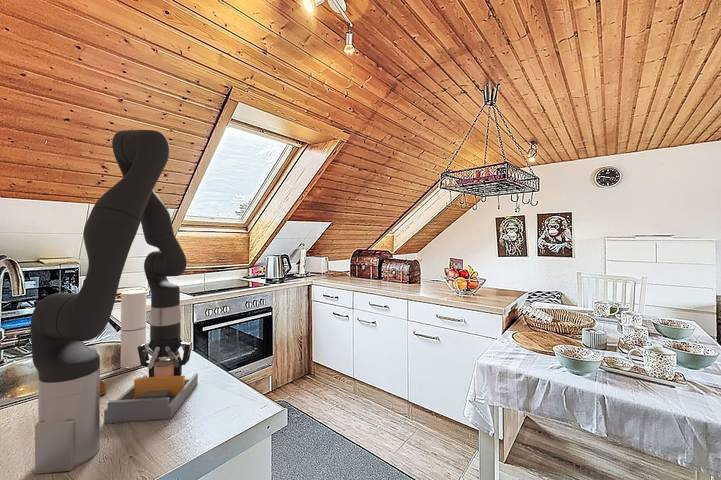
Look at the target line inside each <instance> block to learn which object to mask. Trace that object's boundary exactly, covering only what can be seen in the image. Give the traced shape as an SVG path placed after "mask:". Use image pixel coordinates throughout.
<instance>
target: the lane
mask: <svg viewBox="0 0 721 480" xmlns="http://www.w3.org/2000/svg"><path fill="white" fill-rule="evenodd" d="M142 377H148V374H147V375H143V376H142ZM198 378H199V375H198V373H197V372H196V373H194V374H193V375H192V376H191V377H187V378H186V377H185V386H184V387H183V388H182V390H181V391H180V392H179V393H178V395H177V396H170V397H167V398H149V399H141V398H134V384H133V385H131V386H130V387H129V389H127V390H125V392H124V393H122V394H121V395H120V396H119V397H118V398H117V399H114V400H109V401H108V402H107V407H106V408H105V409H104V410H103V424H104V425H105V424H120V423H121V424H122V423H132V422H133V423H136V422H152V421H153V420H154V421H165V420H166V421H167V420H172V418H174V416H175V415H176V413H177V412H178V410H179V409H180V408H181V407H182V405H183V404H184V402H185V401H186V400H187V398H188V397H189V396H190V395H191V393H192V392H193V390H194V389H195V388H196V387H197V385H198V383H199V382H198V381H199V380H198Z"/></svg>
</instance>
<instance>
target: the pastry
mask: <svg viewBox="0 0 721 480" xmlns="http://www.w3.org/2000/svg"><path fill="white" fill-rule="evenodd" d="M108 389H109V387H108V386H107V383H105V382H104V381H103V380H100V396H102V395H104V394H106V393H107V391H108Z"/></svg>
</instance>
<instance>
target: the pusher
mask: <svg viewBox="0 0 721 480" xmlns="http://www.w3.org/2000/svg"><path fill="white" fill-rule="evenodd" d="M185 376H186V375H181V376H164V377H149V376H147V377H143V376H142V377H136V378H134V380H133V385H134V398H141V399H149V398H167V397H170V396H177V395H178V393H179V392H180V391H181V390H182V388H183V387H184V386H185V378H186V377H185Z"/></svg>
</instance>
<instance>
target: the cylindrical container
mask: <svg viewBox="0 0 721 480" xmlns="http://www.w3.org/2000/svg"><path fill="white" fill-rule="evenodd" d="M143 343H146V344H147V290H146V289H145V290H144V289H140V290H139V289H138V290H137V289H136V290H135V289H134V290H133V289H132V290H126V291H122V292H121V293H120V368H121V369H125V368H126V367H135V368H137V367H136V366H139V365H141V363H140V358H139V353H138V347H139V346H140V345H141V344H143ZM139 367H140V366H139Z"/></svg>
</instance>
